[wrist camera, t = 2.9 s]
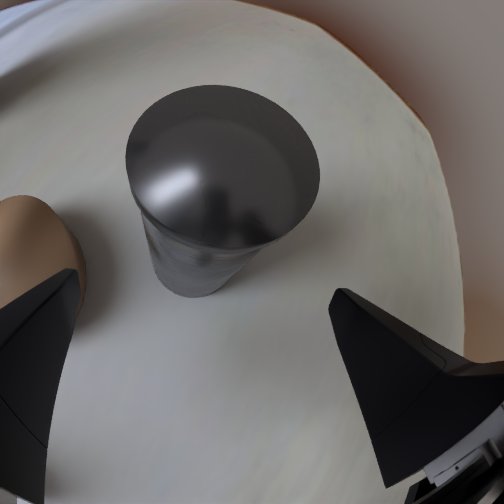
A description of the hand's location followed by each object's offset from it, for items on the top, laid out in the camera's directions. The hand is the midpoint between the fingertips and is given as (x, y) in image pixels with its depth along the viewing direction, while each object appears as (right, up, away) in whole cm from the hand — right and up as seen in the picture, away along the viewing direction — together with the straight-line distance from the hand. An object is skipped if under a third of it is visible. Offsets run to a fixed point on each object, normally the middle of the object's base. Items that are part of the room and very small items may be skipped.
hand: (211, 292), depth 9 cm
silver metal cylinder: (-3, +1, +11) cm, 12 cm away
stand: (-15, -1, +7) cm, 17 cm away
